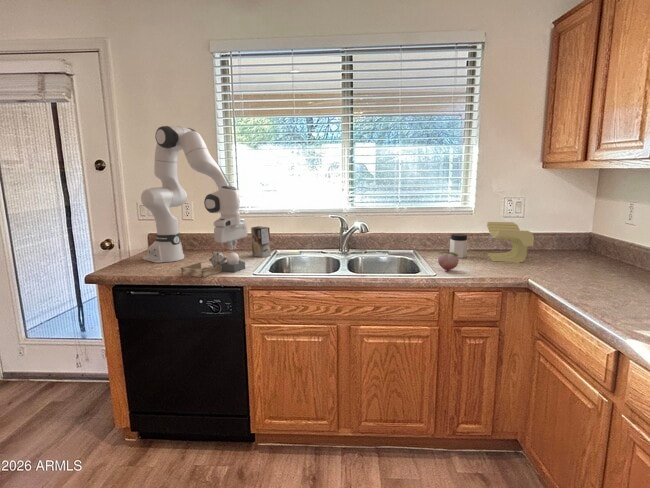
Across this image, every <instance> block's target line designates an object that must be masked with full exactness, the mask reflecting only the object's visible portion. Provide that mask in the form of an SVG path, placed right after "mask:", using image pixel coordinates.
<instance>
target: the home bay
mask: <svg viewBox="0 0 650 488" xmlns="http://www.w3.org/2000/svg"><path fill="white" fill-rule="evenodd" d="M180 271H181V272H180V273H181V275H184V276H186V275H187V276H191V277H192V276H193V277H199V278H206V277H210V276H212V275H215V274H218V273H220V272H222V270H221V265H218V266H215V267H213V266H212V267H210V268H206V269H203V270H202V262H196V263H193V264H189V265H186V266H182V267H180Z"/></svg>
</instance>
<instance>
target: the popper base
mask: <svg viewBox="0 0 650 488" xmlns="http://www.w3.org/2000/svg"><path fill="white" fill-rule="evenodd" d="M245 269H246V261H243V260H239V263H238V264H235V265H232V264H228V262H227V261H225V262H224V263H221V272H231V273H236V272H240V271H242V270H245Z"/></svg>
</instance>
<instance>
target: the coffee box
mask: <svg viewBox="0 0 650 488" xmlns="http://www.w3.org/2000/svg"><path fill="white" fill-rule="evenodd" d="M250 228H251V229H250V230H251V231H250V234H251V249H252V250H251V253H252V256H255V257H259V258H266V257H270V256H271V255H272V254H271V238H270V237H271V234H270V227H269V226H259V225H258V226H252V227H250Z"/></svg>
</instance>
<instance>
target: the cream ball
mask: <svg viewBox="0 0 650 488" xmlns="http://www.w3.org/2000/svg"><path fill="white" fill-rule="evenodd" d="M226 258H227V259H226V262H228V264H232V265H235V264H238V263H239V261H240V256H239V254H238V253H237V252H229V253H228V254H227V255H226Z"/></svg>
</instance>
